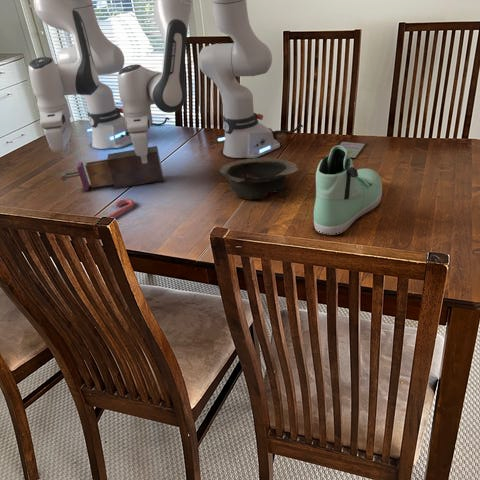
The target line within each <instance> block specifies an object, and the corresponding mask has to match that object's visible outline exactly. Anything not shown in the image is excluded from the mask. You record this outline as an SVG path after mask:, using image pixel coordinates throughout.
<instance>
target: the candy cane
mask: <svg viewBox="0 0 480 480" xmlns="http://www.w3.org/2000/svg"><path fill="white" fill-rule="evenodd" d="M124 204H125V206H123V207H121V208H119V209H117V210H115V211H114V212H112V213H110V214H108V215H107V216H106V217H114V218H116V217H118V216H119V215H122V214H123V213H125V212H126V211H128V210H130V209H132V208H133V207H134V206H135V201H134V200H133V199H130V198H123V199H119V200H118V201H116V202H115V206H116V207H120V206H121V205H124Z"/></svg>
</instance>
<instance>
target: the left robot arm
mask: <svg viewBox="0 0 480 480" xmlns="http://www.w3.org/2000/svg"><path fill="white" fill-rule="evenodd" d="M32 2H33V3H32V4H33V9H34V12H35V14H36V16H37V17H38V18H39V19H40V20H41V21H42V22H43V23H44V24H46V25H47V26H49V27H52V28H53V29H58V30H60V31H63V32H67V33H69V34H70V35H71V36H72V40H73V45H71V46H68V47H64V48H62V49H60V50H59V52H58V54H57V62H55V60H54V58H52V57H50V56H42V57H41V56H40V57H37V58H34V59H32V60H31V61H29V63H28V64H27V65H28V76H29V80H30V84H31V88H32V92H33V94H34V96H35V98H36V101H37V102H36V104H37V109H38V112H39V116H40V118H39V124H40V128H41V129H43V130H44V131H43V132H44V135H45V137H46V138H45V139H46V140H47V143H48V146H49V149H50V150H51V152H52V153H60V152H61V154H62V156H63V157H64V158H65V157H69V156H70V153H71V150H70V143H69V140H70V137H71V135H72V132H73V126H72V122H71V120H70V119H71V117H72V113H71V111H70V106H69V103H68V100H67V98H66V96H76V95H80V96H83V98H84V101H85V104H86V109H87V118H88V122H89V125H90V127H91V128H89V129H87V132H91V137H92V138H91V140H92V141H91V147H92V148H94V149H98V150H107V149H121V148H122V149H123V148H124V147H127V146H128V145H131V144H133V143H132V139H131V135H130V132H128V130H127V127H126V125H125V121H124V115H122V114H123V107H117V106H116V103H115V97H114V94H113V90H112V88H111V87H110V86H109V85H107V84H105V83H103V82H101V81H100V79H99V76H106V75H113V74H116V73H119V72H120V70H121V69H123V68H124V67H125V54H124V53H123V51H122V50H121V47H119V46H118V45H116V44H114V43H113V42H112V41H111V40H110V39H108V38H107V37H106V35H105V34H104V32H103V31H102V29H101V27H100V25H99V21H98V19H97V16H96V12H95V8H94V4H93V0H32ZM167 120H169V121H170V120H171V119H170V118H169V117H165V119H164V121H163V122H159V123H155V122H152V124H151V125H153V126H163V125H165V124H166V123H167ZM151 125H150V126H151Z"/></svg>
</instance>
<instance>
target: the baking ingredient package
mask: <svg viewBox="0 0 480 480" xmlns="http://www.w3.org/2000/svg"><path fill="white" fill-rule="evenodd" d="M338 146H342V147H344V148H345V149H346V150H347V152H348V153H349V156H350V158H356V157H357V156H358V155H359V153H360V152H361V151H362V149H363V148H364V147H365V146H366V143H359V142H348V141H342V142H340V144H339V145H338Z"/></svg>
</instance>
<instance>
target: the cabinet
mask: <svg viewBox="0 0 480 480" xmlns="http://www.w3.org/2000/svg"><path fill="white" fill-rule="evenodd" d="M106 159H107V162H108V166H109V170H110V173H111V177H112V180H113V183H114V184H113V187H114V190H115V189H120V188H121V189H122V188H126V187H132V186H138V185H144V184H150V183H155V182H161V181H164V171H163V167H162V162H161V157H160V153H159V149H158V145H153V146H148V154H147V163H144V164H143V163H142V160H141V157H140V156H137V155H136V153H135V150H134V149H130V150H125V151H119V152H114V153H113V152H112V153H108V154H107V158H106Z"/></svg>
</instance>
